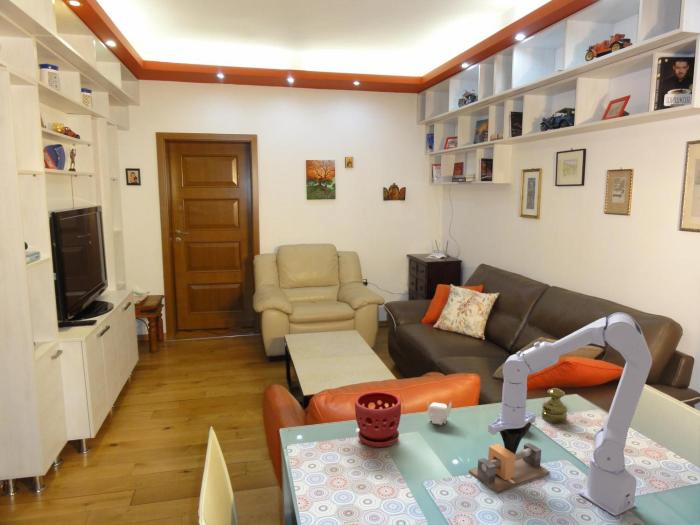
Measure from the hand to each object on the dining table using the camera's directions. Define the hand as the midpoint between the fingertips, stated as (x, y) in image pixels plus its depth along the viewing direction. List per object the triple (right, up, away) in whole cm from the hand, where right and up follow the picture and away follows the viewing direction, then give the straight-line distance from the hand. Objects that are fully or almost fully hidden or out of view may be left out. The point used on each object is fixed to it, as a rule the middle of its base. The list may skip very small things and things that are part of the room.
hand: (510, 453), depth 128 cm
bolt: (+12, -1, +30) cm, 32 cm away
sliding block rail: (0, -5, +1) cm, 5 cm away
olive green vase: (+24, -1, +31) cm, 39 cm away
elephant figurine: (-14, -1, +27) cm, 31 cm away
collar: (-3, -6, 0) cm, 6 cm away
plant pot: (-33, -2, +17) cm, 37 cm away
